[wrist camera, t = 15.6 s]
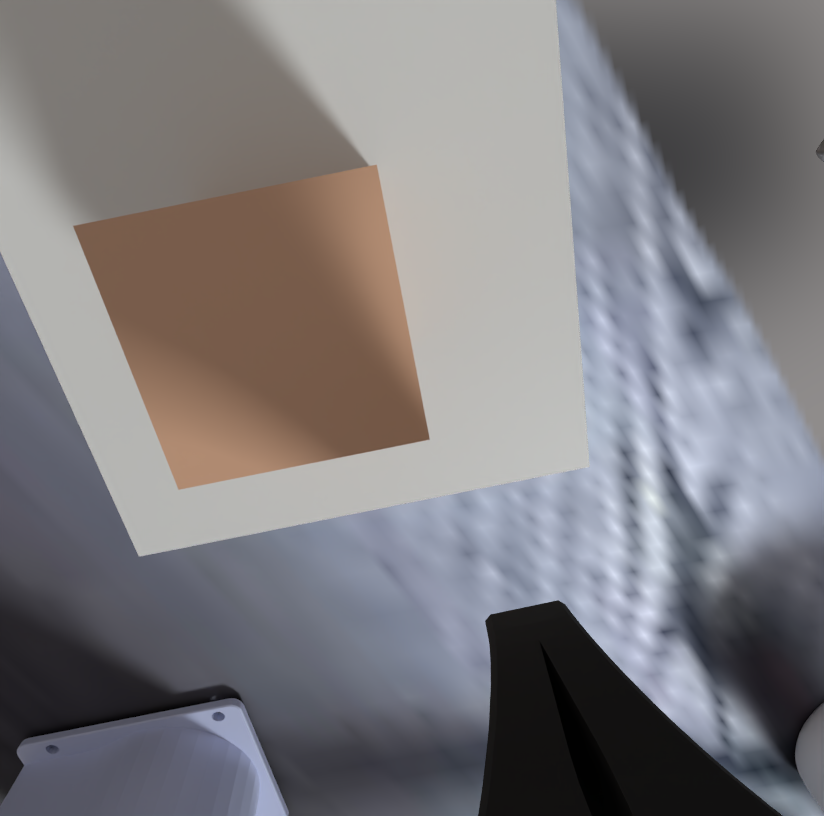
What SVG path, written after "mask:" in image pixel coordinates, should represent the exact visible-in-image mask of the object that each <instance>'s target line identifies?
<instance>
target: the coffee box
mask: <svg viewBox="0 0 824 816" xmlns="http://www.w3.org/2000/svg"><path fill="white" fill-rule="evenodd" d="M816 152H817V155H818V157H819V158H820V159H821V160H822V161H823V162H824V140H823V141H822V142H821V144H820V146H819V147H818V149H817V150H816Z"/></svg>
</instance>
